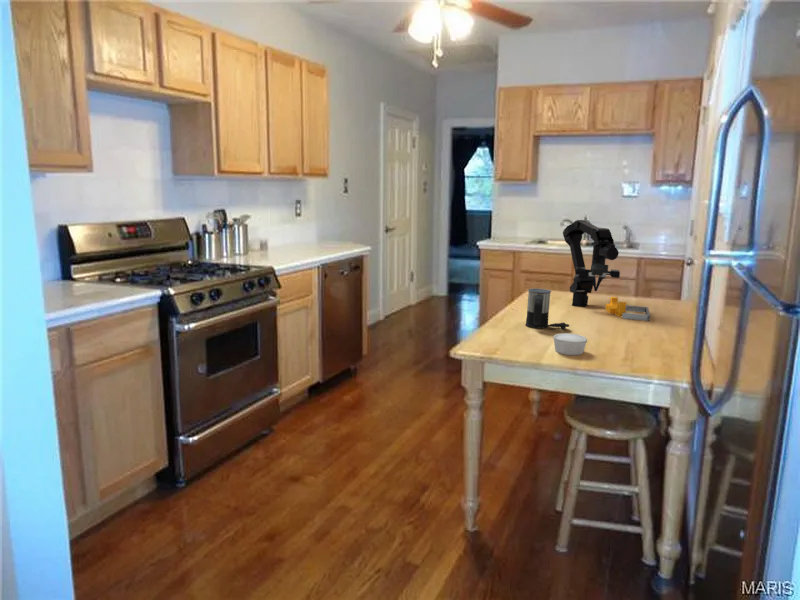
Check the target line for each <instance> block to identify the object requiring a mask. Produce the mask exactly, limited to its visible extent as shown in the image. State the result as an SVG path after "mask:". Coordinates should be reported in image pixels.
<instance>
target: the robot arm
mask: <svg viewBox="0 0 800 600" xmlns="http://www.w3.org/2000/svg"><path fill="white" fill-rule="evenodd" d="M584 234H587V235H589V236H590V237H589V238H590V239H591V240H592V241H593V242H592V243H591V244H590V245H591V246H592V256H591V257H592V258H591V265H590V269H589V268H588V269H586V264H585V260H584V255H583V250H582V245H581V241H582V239H583V235H584ZM562 236H563V239H564V241H565V243H566V244H567V246H569V249H570V254H571V257H572V258H571V259H572V263H573V268H574V273H575V274H574V276H573V279H572V281H573V282H572V284H571V285H570V286H569V292H570V293H572V303H571V306H573V307H582V306H583V307H585V308H586V307H587V306H588V304H589V303H588V302H589V295H588V294H592V290H594V292H597V291H598V289H599V286H600V284H601V282H602V281H603V279H605V280H606V278H607V276H609V277H611V278H614V279H615V278H616V279H620V277H621V276H620V275H621V271H620V269H610V270H609V264H606V260H609V261H614V260H616V259H617V258H618V257H619V253H620V252H619V249H618V248H617V247H616V244H615V241H614V238H613V236H612V232H611V230H610V229H609V228H605V227H597V225H594V224H592V223H591V222H588V221H587V220H585V219H577V220H575V221H574V222H572V223H571V224H568V225H567V226H566V227H565V228H564V229H563V231H562ZM596 276H598V279H597V277H596Z"/></svg>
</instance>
